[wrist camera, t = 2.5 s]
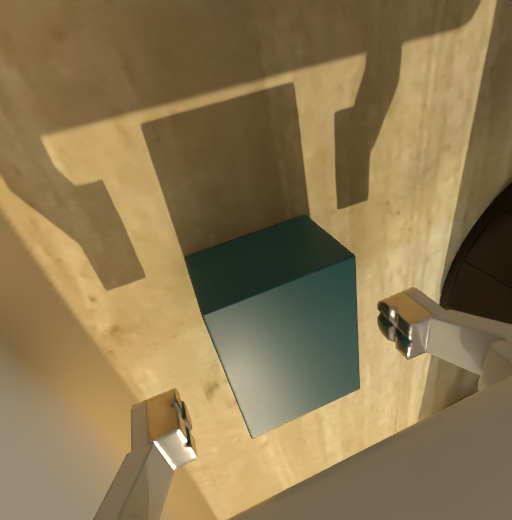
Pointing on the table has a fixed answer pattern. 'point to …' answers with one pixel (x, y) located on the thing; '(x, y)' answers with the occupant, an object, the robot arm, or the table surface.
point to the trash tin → (484, 266)
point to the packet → (281, 319)
